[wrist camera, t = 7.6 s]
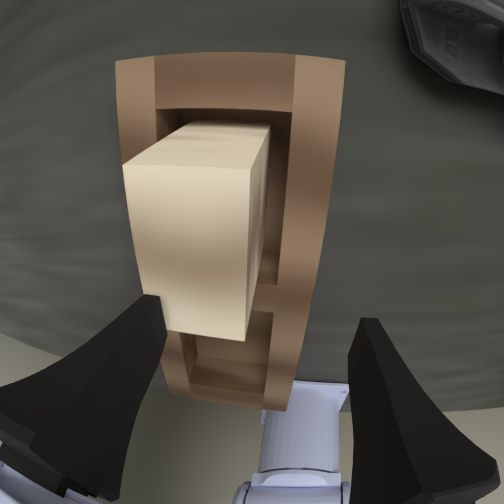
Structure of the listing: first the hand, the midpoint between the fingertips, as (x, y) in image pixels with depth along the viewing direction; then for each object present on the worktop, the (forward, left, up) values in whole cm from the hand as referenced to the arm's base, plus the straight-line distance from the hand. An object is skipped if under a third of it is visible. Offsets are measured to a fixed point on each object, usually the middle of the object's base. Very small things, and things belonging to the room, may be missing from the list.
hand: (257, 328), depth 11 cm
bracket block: (+2, +3, -9) cm, 9 cm away
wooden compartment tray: (-3, +3, -10) cm, 11 cm away
